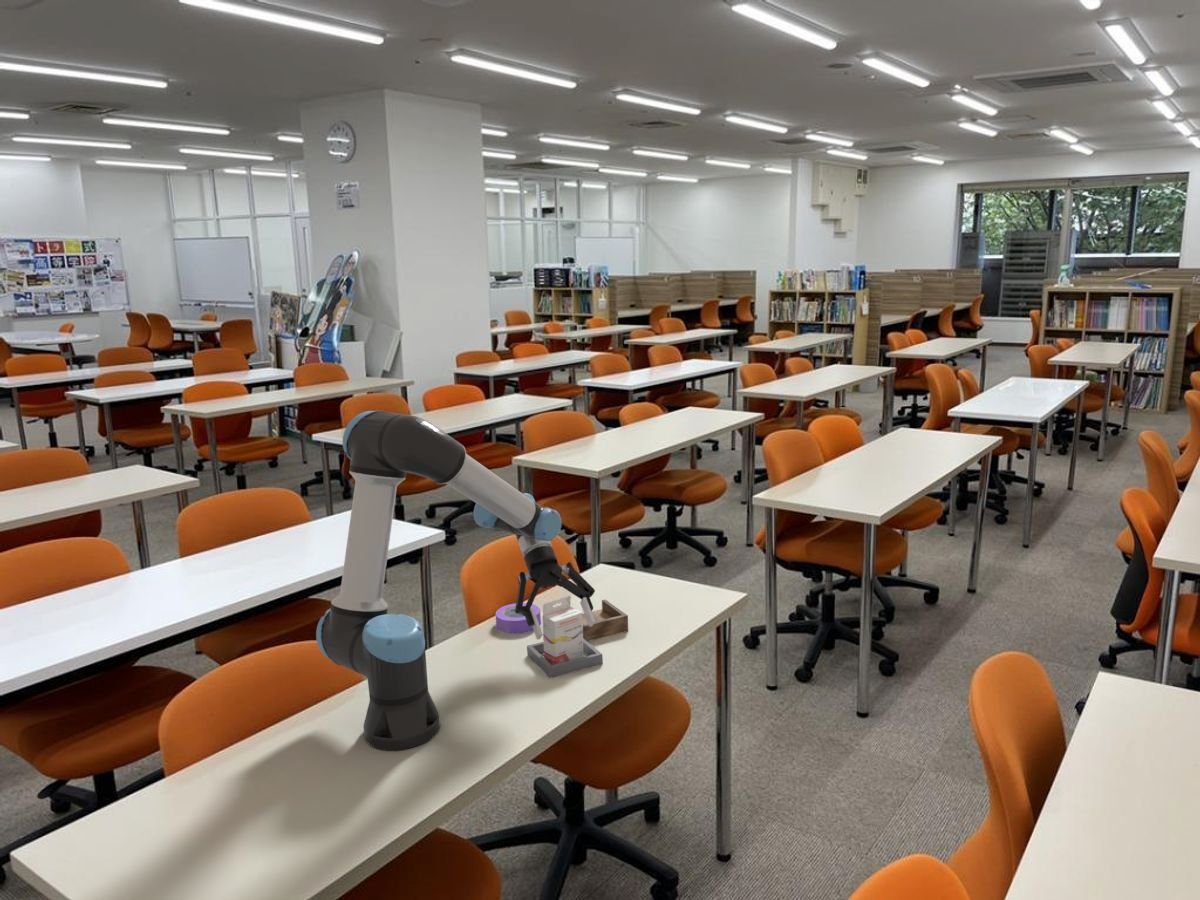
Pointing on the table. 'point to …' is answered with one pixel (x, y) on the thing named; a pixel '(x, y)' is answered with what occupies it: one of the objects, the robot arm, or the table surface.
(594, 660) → the socket
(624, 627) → the wooden tray
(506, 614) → the masking tape
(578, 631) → the ink cartridge box
